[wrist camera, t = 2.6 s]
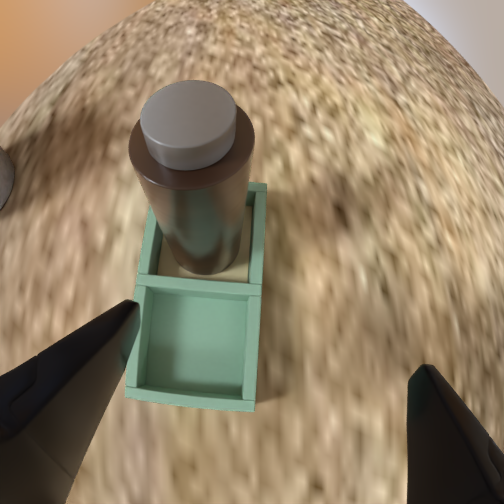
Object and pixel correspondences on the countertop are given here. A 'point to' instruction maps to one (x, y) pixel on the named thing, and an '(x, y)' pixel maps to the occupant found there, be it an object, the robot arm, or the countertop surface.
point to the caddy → (199, 322)
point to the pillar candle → (5, 176)
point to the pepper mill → (195, 171)
